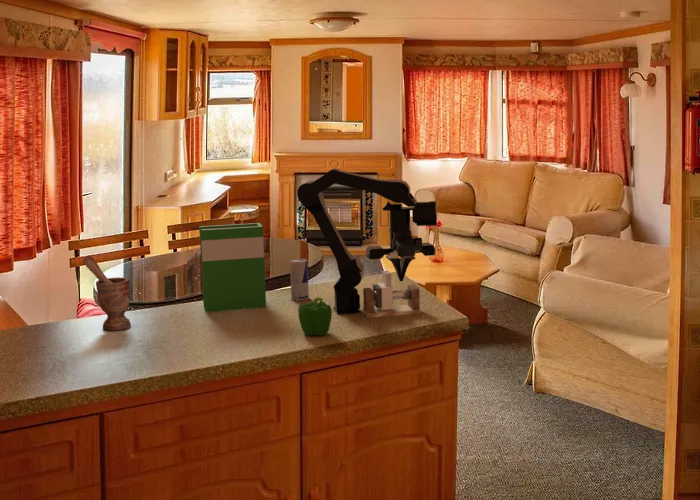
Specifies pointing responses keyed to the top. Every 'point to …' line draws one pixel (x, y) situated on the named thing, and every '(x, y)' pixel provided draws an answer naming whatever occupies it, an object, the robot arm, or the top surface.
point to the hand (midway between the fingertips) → (401, 281)
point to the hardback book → (232, 267)
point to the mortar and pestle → (111, 296)
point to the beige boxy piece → (386, 290)
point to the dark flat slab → (378, 296)
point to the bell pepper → (315, 317)
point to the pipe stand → (401, 294)
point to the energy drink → (299, 279)
